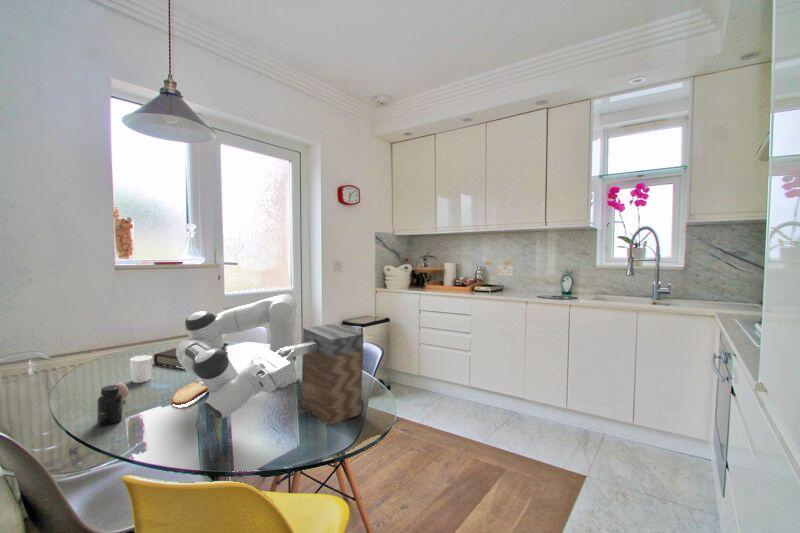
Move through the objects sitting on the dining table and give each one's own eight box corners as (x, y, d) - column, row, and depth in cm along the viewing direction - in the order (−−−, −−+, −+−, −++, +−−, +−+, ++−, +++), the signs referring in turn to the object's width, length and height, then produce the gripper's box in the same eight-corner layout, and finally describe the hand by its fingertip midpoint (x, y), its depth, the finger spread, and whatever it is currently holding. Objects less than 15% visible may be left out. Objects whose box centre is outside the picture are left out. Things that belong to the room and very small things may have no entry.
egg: (108, 405, 135) (108, 386, 135) (113, 399, 140) (113, 381, 140) (125, 403, 137) (125, 384, 137) (129, 397, 142) (129, 379, 142)
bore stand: (328, 425, 127) (331, 339, 125) (301, 405, 142) (303, 328, 140) (360, 414, 137) (363, 334, 135) (332, 396, 151) (334, 323, 149)
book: (199, 349, 207) (199, 339, 206) (227, 354, 201) (227, 343, 201) (153, 364, 180) (153, 353, 179) (184, 370, 174) (184, 358, 174)
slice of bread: (176, 411, 134) (176, 401, 134) (161, 395, 146) (161, 386, 146) (226, 397, 147) (226, 388, 147) (209, 384, 159) (209, 376, 159)
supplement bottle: (94, 428, 119) (94, 392, 118) (100, 419, 125) (99, 385, 125) (120, 424, 122) (120, 389, 122) (124, 415, 128) (124, 382, 128)
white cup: (155, 379, 161) (155, 357, 160) (135, 385, 154) (135, 362, 154) (147, 375, 165) (147, 354, 165) (127, 380, 159) (126, 358, 158)
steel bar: (283, 359, 123) (283, 350, 123) (279, 357, 125) (279, 348, 125) (328, 348, 135) (328, 340, 134) (324, 346, 137) (323, 338, 136)
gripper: (250, 374, 128) (283, 349, 135) (274, 393, 113) (310, 364, 120) (241, 360, 125) (275, 336, 133) (265, 378, 110) (301, 349, 118)
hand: (292, 349), depth 126 cm, fingers closed on steel bar, 3 cm apart
